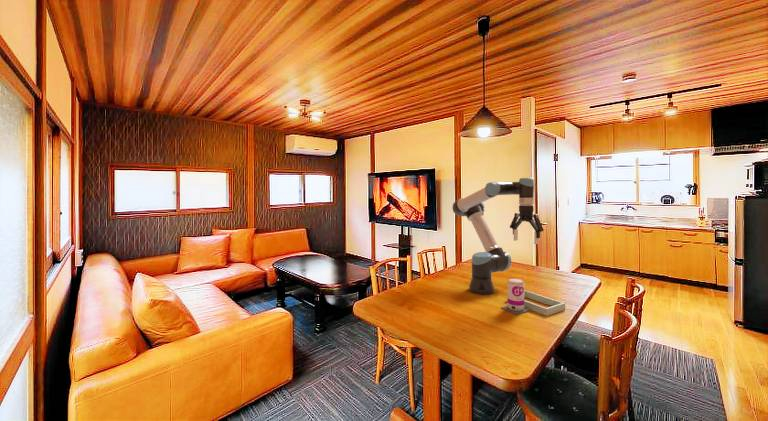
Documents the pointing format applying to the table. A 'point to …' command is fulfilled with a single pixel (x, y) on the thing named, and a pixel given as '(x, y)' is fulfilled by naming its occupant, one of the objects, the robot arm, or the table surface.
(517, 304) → the supplement can
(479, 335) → the table surface
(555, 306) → the grey rectangular frame
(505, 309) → the mat
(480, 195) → the robot arm
